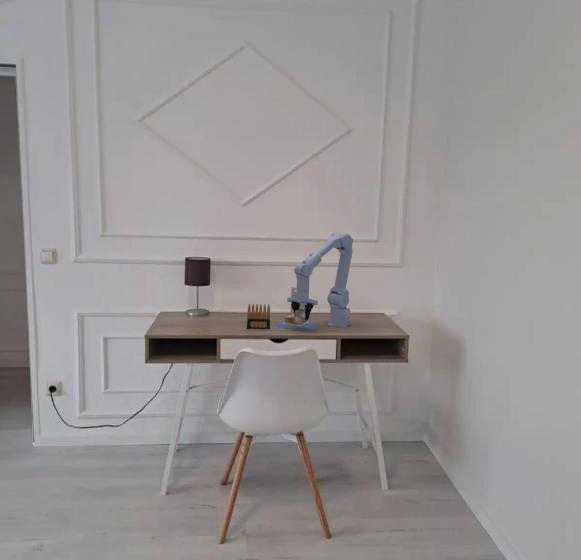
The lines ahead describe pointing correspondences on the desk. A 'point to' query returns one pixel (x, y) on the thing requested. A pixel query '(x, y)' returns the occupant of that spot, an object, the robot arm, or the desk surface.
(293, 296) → the ink box
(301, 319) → the top block
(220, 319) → the desk surface
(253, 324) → the ammunition clip
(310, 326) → the board
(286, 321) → the base slab
